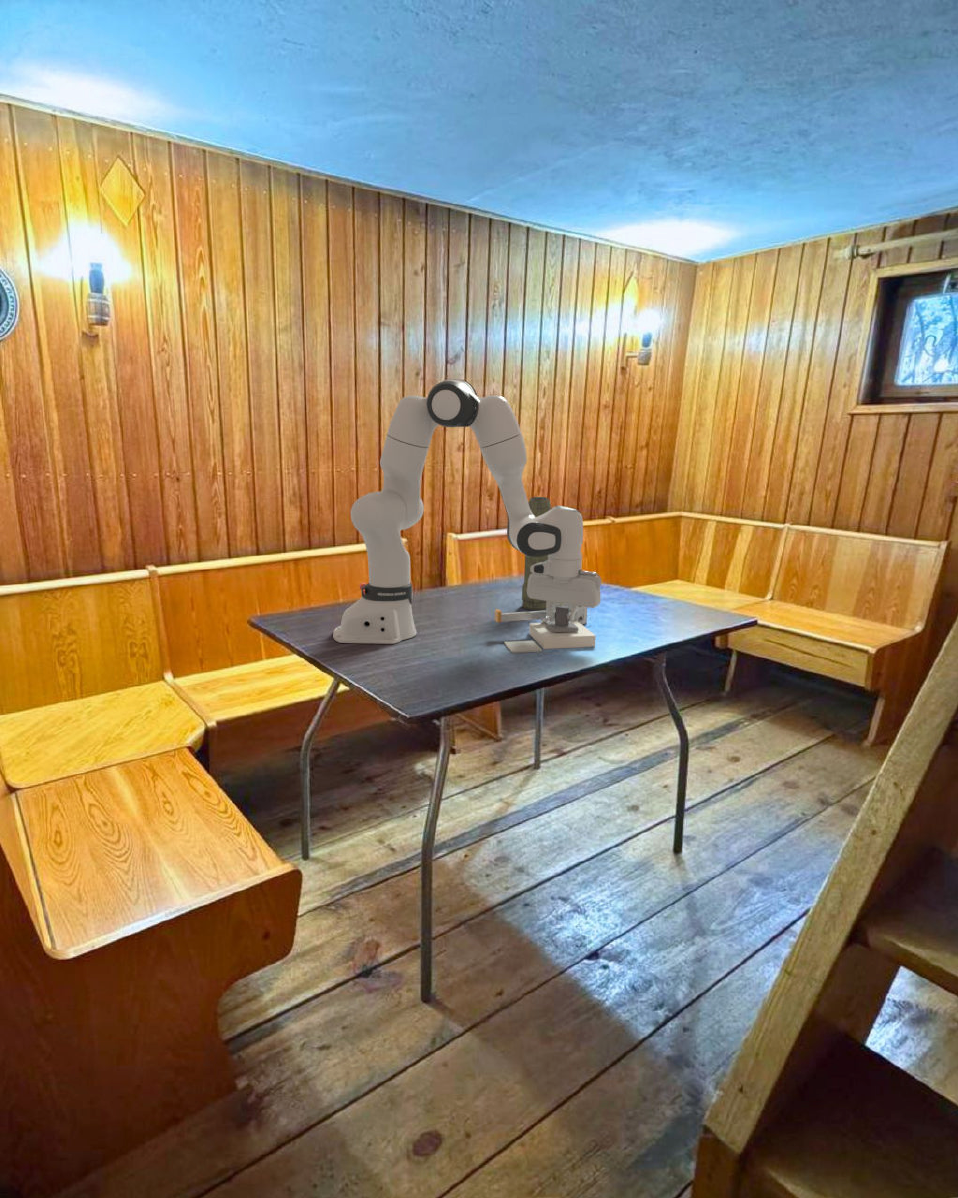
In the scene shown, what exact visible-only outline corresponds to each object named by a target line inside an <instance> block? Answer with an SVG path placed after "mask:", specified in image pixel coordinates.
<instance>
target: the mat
mask: <svg viewBox="0 0 958 1198" xmlns="http://www.w3.org/2000/svg"><path fill="white" fill-rule="evenodd" d="M503 643H504V645H505V647H506V648H507V649H508V650H509V652H511V654H515V653H517V654H519V653H535V652H536V653H538V652H543V648H542V647H541V646H540V645H539V644H538V643H537V641H536V640H519V641H518V640H517V641H516V640H513V641H504V642H503Z"/></svg>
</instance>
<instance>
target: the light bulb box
mask: <svg viewBox="0 0 958 1198" xmlns="http://www.w3.org/2000/svg"><path fill="white" fill-rule="evenodd" d="M546 604H547V601H546ZM553 606H554V609H555V610H556V607H557V606H566V607H569V613H571V612H572V610H573V609H571V605H570V604H564V603H557V602H555V603H554V604H553ZM545 611H546V612H547V613H546V616H550V611H549V609H548V607H547V605H546V610H545ZM587 619H588V607H583V606H579V609H578V610H577V612H576V613H575V618H574V620H573V621H571V622H577V621H578V622H579V623H580V624H582V625H583V626H584V624H587ZM551 621H555V618H551V617H550V622H551Z"/></svg>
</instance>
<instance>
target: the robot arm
mask: <svg viewBox="0 0 958 1198" xmlns="http://www.w3.org/2000/svg"><path fill="white" fill-rule="evenodd" d="M513 411H514V410H513V409H512V407H511V405H510V404H509V401H508V400H507V399H506V398H505V397H504V396H501V395H497V394H491V395H486V396H483V397H479V396H478V394H477V392H476V389H475V388H474V386H472V384H471V383H469V382H468V381H466V380H464V379H459V378H447V379H444V380H443V381H440V382H438V383H436V384H435V385H434V386H433V387H432V388H431V389H430V391H429V393H428V395H427V397H424V396H420V395H416V394H415V395H413V394H411V395H407V396H404V397H402V398H401V399H400V400H399V402H398V403H397V406H396V408H395V410H394V413H393V415H392V417H391V420H390V423H389V426H388V429H387V431H386V432H387V433H386V436H385V441H384V445H383V449H382V453H381V455H380V460H379V466H380V468H381V470H382V472H383V486H382V489H381V491H373V492H368V493H367V494H366V493H365V494H364V495H362V496H361V497H359V498H357V499H356V500H355V501H354V502H353V504H352V505H351V509H350V519H351V523H352V525H353V526H354V528H355V529H356V530H357V531H358V533H360V535H361V537H362V539H363V542H364V544H365V545H364V546H365V549H366V553H367V561H368V562H367V563H368V583H366V582H360V584H359V590H360V591H361V598H360V599H358V600H357V601H356V602H354V603H353V604H351V605H350V606H349V607H348V608H346V609H345V611H344V612H343V614H342V617H341V622H340V625H338V626H337V627H335V628H334V630H333V635H332V637H333V640H335V641H336V642H337V643H340V644H343V643H344V644H387V645H388V644H391V645H392V644H398V643H400V642H401V641H404V640H408V639H411V638H413V637H415V636H416V635H417V633H418V632H417V629H416V625H415V622H414V616H413V611H412V604H413V593H414V592H413V584H412V582H411V556H410V553H409V552H408V550H406V548H405V546H404V544H403V543H404V542H403V540H402V536H401V531H403V530H407V529H410V528H412V527H413V526H414V525H416V524H417V523H418V522H420V520H421V519H422V517H423V515H424V512H425V507H424V502H423V500H422V498H421V485H422V484H421V483H422V475H423V471H424V468H425V464H426V459H427V455H428V453H429V448H430V445H431V441H432V438H433V435H434V432H435V430H436V429H437V427H438V426H439V425H440V426H441V427H445V428H465V427H466V428H467V427H469V428H470V429H471V430H472V431H473V433H474V436H475V438H476V441H477V444H478V447H479V451H480V453H481V455H482V456H481V457H482V458H483V460H484V463H485V464H486V466H487V469H488V470H489V472H490V474H491V475H492V477H493V479H494V481H495V482H496V484H497V486H498V489H499V492H500V496H501V498H502V501H503V504H504V505H503V506H504V508H505V511H506V515H507V527H506V535H507V540H508V542H509V544H510V545H511V547H512V548H514V549H515V550H517V551H519V552H520V553H521V554H523V555H524V556H525V555H526V556H529V557H539V556H545V555H548V560H546V561H543V562H540V563H536V564H534V565H532V566H531V568H530V570H531V572H532V574H531V575H530V576H529V579H528V585H527V595H528V596H529V598H532V599H538V600H544V601H547V604H546V605H547V607H548V609H549V611H550V617H551V618H555V615H556V610H555V609H554V606H553V604H554V603H555V602H557V603H564V604H570V605H571V609H573V610H572V612H571V613H569V614H567V620H569V621H573V620H574V618H575V613H576V612H577V610H578V609H579V606H583V607H587V608H590V609H595V608H596V607H598V606H599V605H600V604H601V601H602V600H601V587H602V578H601V576H600V575H599V574H598V573H597V572H596V571H588V570H582V561H583V555H582V546H583V545H582V544H583V541H584V520H583V515H582V514H581V512H580V511H579V510H577V509H576V508H571V507H567V506H563V505H555V506H552V507H551V510H549V511H548V512H546V513H544V514H542V515H540V516H538V517H535V516H534V514H533V513H532V512H531V510H530V507H529V504H528V503H529V500H528V498H527V494H526V491H525V487H524V483H523V473H524V469H525V466H526V465H527V461H528V456H527V448H526V444H525V440H524V437H523V433H522V430H521V428H520V427H521V426H520V424H519V423H518V420H517V417H516V415H515V413H514V412H513Z"/></svg>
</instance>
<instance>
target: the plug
mask: <svg viewBox="0 0 958 1198" xmlns="http://www.w3.org/2000/svg"><path fill="white" fill-rule="evenodd" d="M567 614H569V607H566V606H557V607H556V615H555V621H551V622H546V626H547V627H548V628H549V629H550V630H551V631H552V632H576V631H578V627H577V626H576V625H575V624H573V623H572V622H571V621H569V620H567Z"/></svg>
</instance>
